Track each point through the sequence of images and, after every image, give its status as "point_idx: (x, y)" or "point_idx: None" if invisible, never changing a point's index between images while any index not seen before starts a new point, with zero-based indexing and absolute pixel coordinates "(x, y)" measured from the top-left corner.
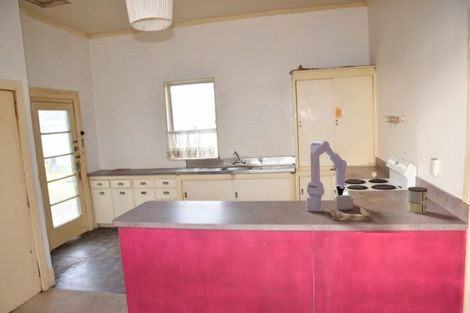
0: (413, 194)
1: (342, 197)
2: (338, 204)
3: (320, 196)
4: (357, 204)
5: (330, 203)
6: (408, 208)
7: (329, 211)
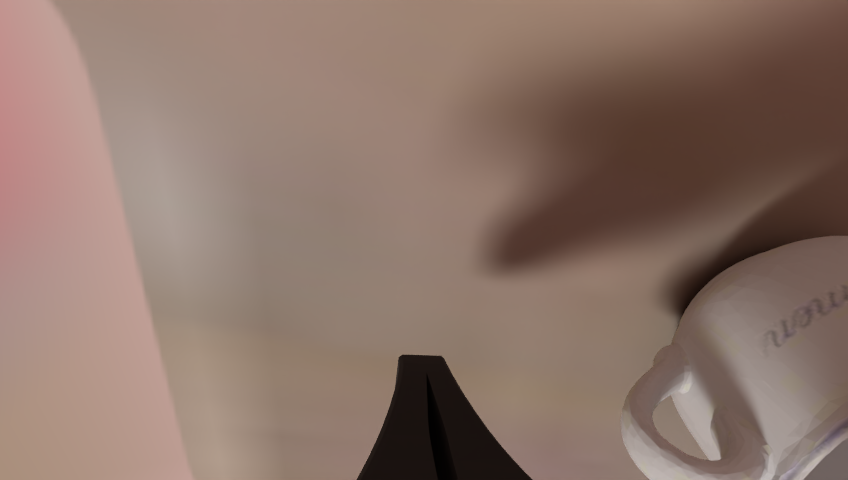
0: None
1: (769, 449)
2: (843, 457)
3: None
4: (520, 11)
5: None
6: None
7: None
